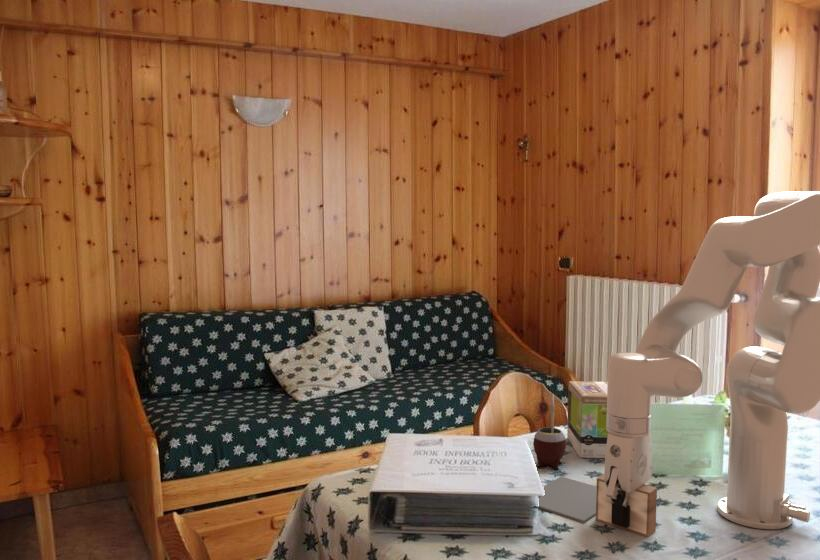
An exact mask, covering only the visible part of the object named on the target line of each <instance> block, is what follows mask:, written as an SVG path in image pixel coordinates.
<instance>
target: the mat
mask: <svg viewBox="0 0 820 560" xmlns="http://www.w3.org/2000/svg"><path fill="white" fill-rule="evenodd" d="M543 486H544V490H545V495H544V496H542V497H540V498H539V507H540V508H539V509H541V510H543V511H547V512H550V513H553V514H556V515H559V516H561V517H562V516H563V517H565V518H568V519H571V520H574V521H577V522H581V523H584V524H585V523H586V522H588V521H590V520H591V519H592V518H594V517H596V494H597V485H593V484H589V483H586V482H581V481H579V480H576V479H571V478H568V477H564V476H560V477H558V478H556V479H554V480H552V481H550V482H548V483H546V484H545V485H543Z"/></svg>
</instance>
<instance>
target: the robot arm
mask: <svg viewBox="0 0 820 560" xmlns="http://www.w3.org/2000/svg"><path fill="white" fill-rule="evenodd" d="M819 246H820V191H817V190H814V191H811V190H808V191H781V192H780V191H779V192H773V193H769V194H767V195H765V196H763V197H762V198H760V199H759V200H758V202H757V203H756V205H755V208H754V212H753V216H727V217H723V218H719V219H718V220H716V221H715V222H714V223H712V225H711V226H710V227H709V229H708V230H707V233H706V235H705V236H704V239H703V241H702V243H701V245H700V247H699V250H698V252H697V254H696V256H695V257H694V261H693V262H692V265H691V266H690V269H689V271H688V274H687V275H686V278H685V280H684V282H683V283H682V286H681V287H680V290H679V291H678V292H677V293H676V294H675V295H674V296H673V297H672V298H671V299H670V300H669V301H668V302H667V303H665V305H664V306H662V308H661V309H659V311H658V312H657V313H656V314H655V315H654V317H653V318H651V321H649V323H648V324H647V326H646V329H645V330H644V332H643V334H642V336H641V338H640V341H639V343H638V344H637V347H636V349H635V352H615V353H614V354H612V355H611V356H610V357H609V359H608V365H607V382H608V387H607V421H606V430H607V431H608V432H609V433H608V438H607V445H606V455H605V458H604V469H603V470H604V473H603V474H604V480H605V485H606V486H607V487H608V489H607V493H606V496H607V497H609V498H611V503H612V518H611V522H612V523H613V524H615V525H618V526H621V527H624V528H628V527H629V526H630V506H628V499H629V493H631V492H633V491H635V490H636V489H638V488H639V487H641V486H642V485H644V484H645V485H646V483H649V481H650V480H651V479H652V470H653V467H652V463H653V462H652V461H653V460H652V439H651V426H652V425H651V421H652V419H651V418H652V416H651V415H652V397H653V396H655V397H656V396H657V397H663V398H664V397H665V398H672V399H674V398H675V399H679V398H680V399H681V398H687V397H690V396H692V395H693V394H695V393H696V392H698V390H699V389H700V388H701V386H702V382H703V372H702V370H701V368H700V366H699V365H698V364H697V362H695V361H694V360H693V359H691V358H689V357H688V356H686V355H683V354H680V353H678V352H677V350H678V348H679V345H680V344H681V343H682V341H683V339H684V337H686V335H687V334H688V333H689V332H690V331H691V330H692V329H693V328H695V327H696V326H698V325H700V324H701V323H704V322H706V321H708V320H711V319H713V318H715V317H716V318H717V317H718V316H719V315H723V314H724V313H725V312H726V311H728V309H729V307H730V306H731V303H732V301H733V299H734V297H735V295H736V293H737V290H738V288H739V286H740V284H741V281H742V280H743V277H744V275H745V273H746V272H747V269H748V268H749V267H752V268H766V267H768V271H767V273H766V277H765V281H764V283H763V286H762V289H761V292H760V295H759V298H758V301H757V304H756V307H755V310H754V313H753V319H752V325H753V329H754V331H755V333H756V334H757V335H758V336H760V337H761V338H762V339H764V340H766V341H769V342H772V343H775V344H778V345H781V346H783V348H782V349H783V350H782V352H781V351H777V350H775V349H771V348H767V347H764V346H763V347H762V346H747V347H744V348H741V349H739V350H738V351H736V352H735V353H734V354H733V355H732V356H731V358H730V359H729V362H728V365H727V369H726V380H727V388H728V395H729V404H730V416H729V417H730V420H729V421H730V423H729V424H730V425H729V443H728V444H729V445H728V463H727V464H728V465H727V466H728V467H727V482H726V483H727V485H726V496H725V497H722V498H720V499H719V500H718V501H717V505H716V507H717V508H716V509H717V511H718V513H719V514H720V515H721V517H724V518H725V519H727V520H729V521H730V522H733V523H735V524H738V525H741V526H745V527H747V528H748V527H749V528H753V529H759V530H779V529H784V528H787V527H789V526H790V525H792V523H793V519H796V520H798V521H800V522H805V523H809V521H810V519H811V517H810V516H811V515H810V514H811V513H810V511H808V510H806V506H803V505H800V504H795V503H792V501H790V495H789V494H788V493H785V486H786V485H785V484H786V482H785V481H786V471H787V470H786V467H787V466H786V465H787V453H788V452H787V449H788V448H787V447H788V435H789V434H788V433H789V426H788V425H789V424H788V423H789V422H788V415H787V413H788V414H793V415H794V414H795V415H800V414H804V413H805V414H806V413H808V412H810V411H811V410H813V409H814V407H816V406H817V405H818V404H819V403H820V297H819V296H817V294H818V293H817V292H818V290H819V287H820V286H819V285H820V247H819ZM618 484H620V486H618ZM617 491H620V492H623V496H622V495H621V494H619V493H618V492H617Z"/></svg>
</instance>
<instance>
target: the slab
mask: <svg viewBox="0 0 820 560" xmlns="http://www.w3.org/2000/svg"><path fill="white" fill-rule="evenodd" d="M618 486H620V484H618ZM596 487H597V494H596V515H595V521H597V522H600V523H604V524H606V525H610V526H613V527H615V528H619V529H621V530H625V531H628V532H631V533H635V534H637V535H640V536H644V537H647V538H649V537H650V536H651V535H653V534H654V533H655V532H656V529H657V528H656V526H657V525H656V524H657V522H656V521H657V500H658V498H657V497H658V487H656V486H652V485H649V484H646V483H645V484H644V485H642V486H641V487H639V488H638V489H636V490H635V491H633V492H631V493H629V499H628V506H630V526H629V527H628V528H624V527H621V526H618V525H615V524H613V523H612V522H611V518H612V503H611V498H609V497H607V496H606V493H607V489H608V487H607V486H606V485H605V480H604V473H603V474H601V475H600V476H598V477H596ZM617 492H618V493H619V494H621V495H622V496H623V492H620V491H617Z"/></svg>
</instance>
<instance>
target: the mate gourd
mask: <svg viewBox="0 0 820 560" xmlns="http://www.w3.org/2000/svg"><path fill="white" fill-rule="evenodd" d="M550 404H551V406H550V411H551V415H550V416H551V417H550V420H551V421H550V424H551V425H550V427H541V428H538V430H537V431H536V433H535V434H534V436H533V442H532V445H533V450H534V453H535V455H536V460H537V465H536V468H537V469H538V470H540V469H544V468H550V469H552V470H554V471H555V472H557V471H560V467H559V466H560V465H562V461H561V460H562V458H563V456H564V454H565V452H566V447H567V440H566V436H565V434H564V432H562V430H561V429H559V428H555V427H554V426H555V423H554V421H555V394H554V393H551V403H550Z"/></svg>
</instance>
